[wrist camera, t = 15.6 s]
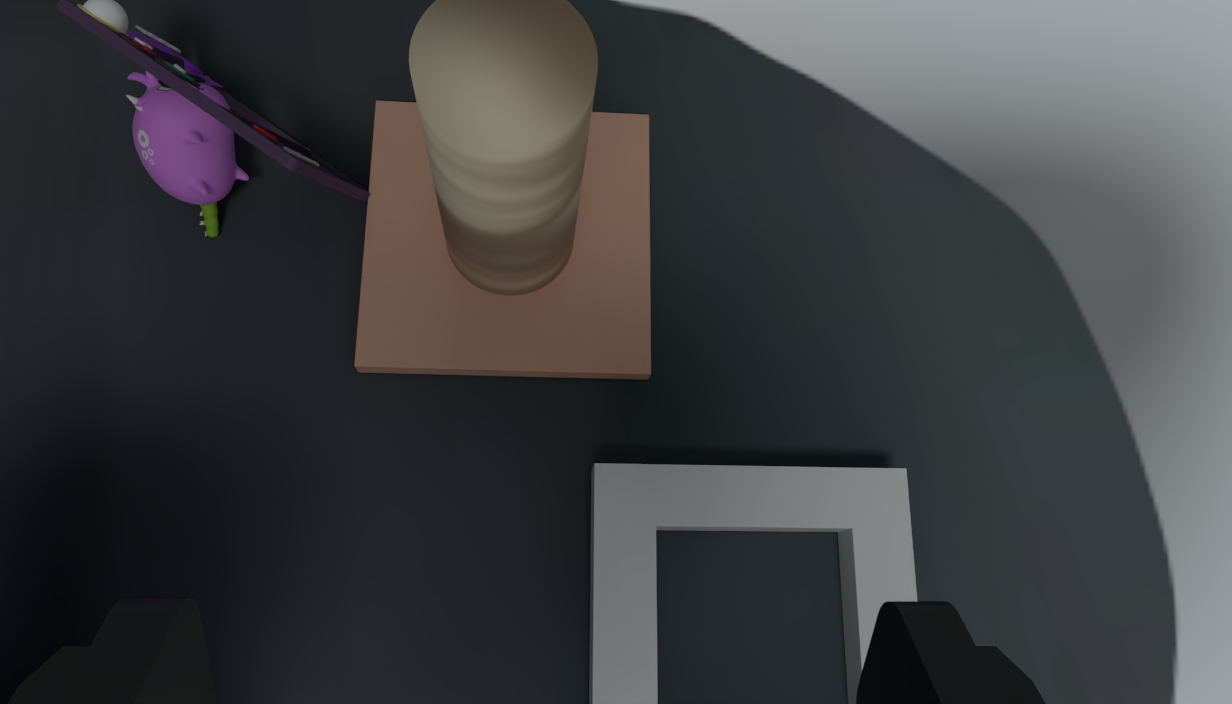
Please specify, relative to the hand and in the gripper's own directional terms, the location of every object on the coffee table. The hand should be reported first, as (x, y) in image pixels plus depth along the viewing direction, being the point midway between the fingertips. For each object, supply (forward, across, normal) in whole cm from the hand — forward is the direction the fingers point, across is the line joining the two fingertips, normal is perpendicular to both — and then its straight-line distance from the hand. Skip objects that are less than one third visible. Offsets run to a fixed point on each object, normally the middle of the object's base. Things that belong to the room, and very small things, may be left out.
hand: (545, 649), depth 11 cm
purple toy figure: (+25, +11, +3) cm, 28 cm away
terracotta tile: (+23, +1, +4) cm, 24 cm away
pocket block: (+14, -7, +14) cm, 21 cm away
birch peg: (+23, +1, +4) cm, 23 cm away
